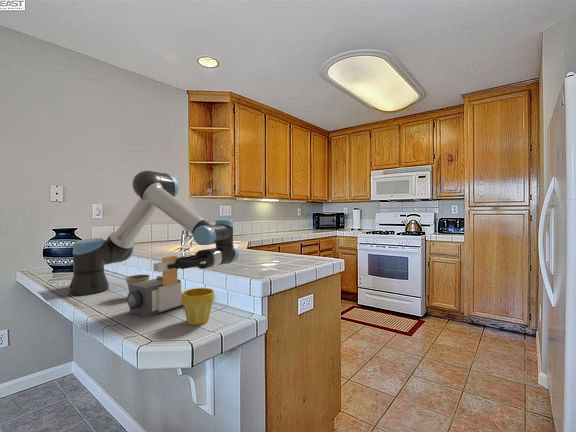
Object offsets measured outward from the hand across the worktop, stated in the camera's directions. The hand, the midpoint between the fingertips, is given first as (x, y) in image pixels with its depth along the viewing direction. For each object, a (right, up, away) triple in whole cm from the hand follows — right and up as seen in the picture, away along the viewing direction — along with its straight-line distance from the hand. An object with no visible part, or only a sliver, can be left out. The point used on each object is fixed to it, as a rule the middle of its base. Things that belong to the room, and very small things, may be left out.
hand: (156, 267), depth 104 cm
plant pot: (+16, -17, -6) cm, 24 cm away
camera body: (-4, -16, +6) cm, 18 cm away
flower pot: (-17, -16, +23) cm, 33 cm away
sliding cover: (+3, -15, +5) cm, 16 cm away
